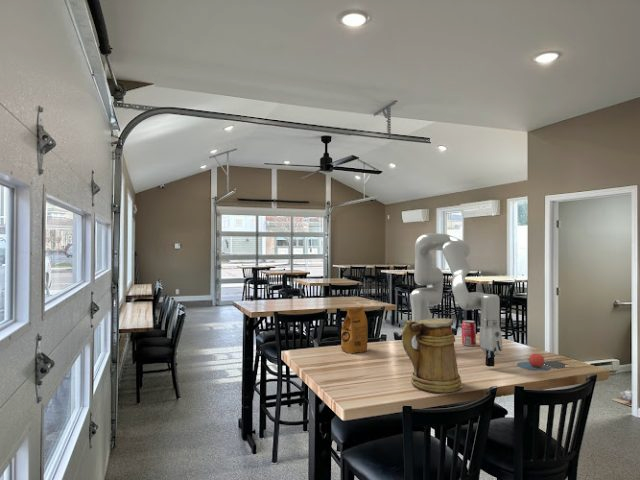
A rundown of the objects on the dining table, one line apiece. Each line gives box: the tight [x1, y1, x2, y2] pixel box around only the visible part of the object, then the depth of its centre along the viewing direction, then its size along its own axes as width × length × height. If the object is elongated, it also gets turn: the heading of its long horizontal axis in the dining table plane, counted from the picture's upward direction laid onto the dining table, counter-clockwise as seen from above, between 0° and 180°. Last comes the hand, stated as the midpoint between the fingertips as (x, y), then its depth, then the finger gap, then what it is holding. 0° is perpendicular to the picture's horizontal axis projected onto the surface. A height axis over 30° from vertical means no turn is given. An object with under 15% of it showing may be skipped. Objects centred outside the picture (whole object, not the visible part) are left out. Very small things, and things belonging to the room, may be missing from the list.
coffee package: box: [340, 305, 369, 355], centre depth 211 cm, size 10×12×22 cm
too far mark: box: [544, 360, 569, 369], centre depth 188 cm, size 10×10×1 cm
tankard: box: [401, 317, 463, 394], centre depth 158 cm, size 18×24×25 cm
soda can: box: [461, 319, 477, 348], centre depth 225 cm, size 7×7×13 cm
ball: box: [528, 352, 545, 368], centre depth 184 cm, size 6×6×6 cm
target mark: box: [516, 361, 551, 371], centre depth 186 cm, size 13×13×1 cm
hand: (489, 365), depth 181 cm, fingers closed
